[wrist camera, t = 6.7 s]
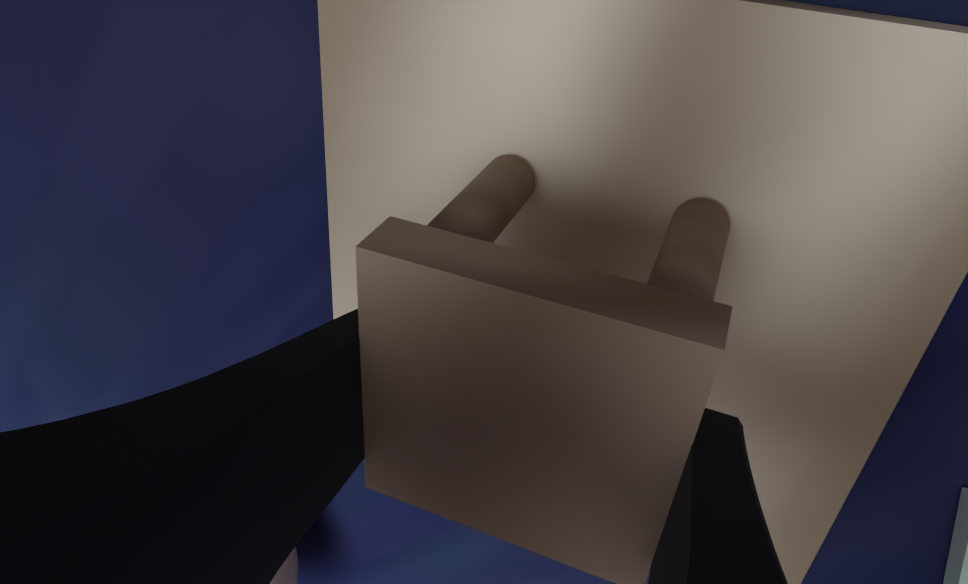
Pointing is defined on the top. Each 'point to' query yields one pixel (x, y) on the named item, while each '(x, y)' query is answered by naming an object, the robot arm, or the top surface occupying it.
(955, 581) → the upturned stool
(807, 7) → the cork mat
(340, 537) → the top surface
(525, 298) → the stool
